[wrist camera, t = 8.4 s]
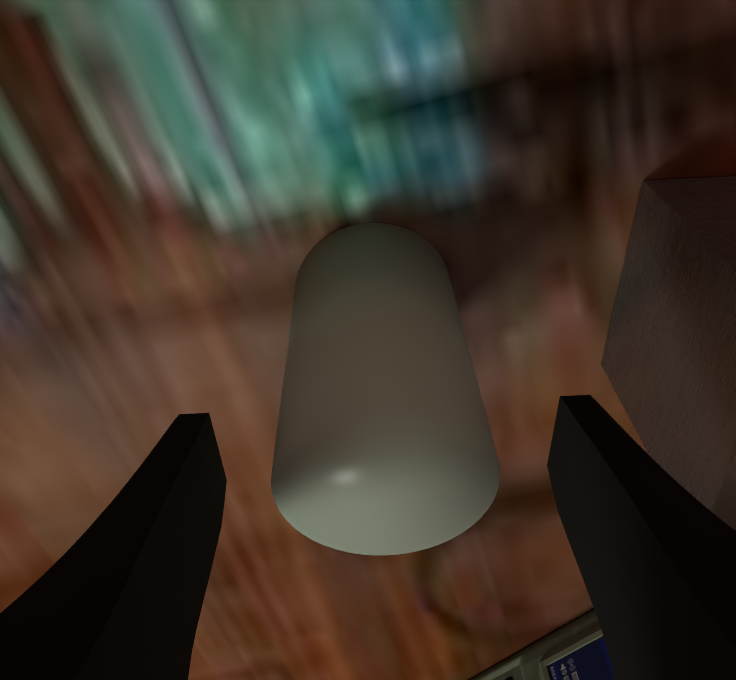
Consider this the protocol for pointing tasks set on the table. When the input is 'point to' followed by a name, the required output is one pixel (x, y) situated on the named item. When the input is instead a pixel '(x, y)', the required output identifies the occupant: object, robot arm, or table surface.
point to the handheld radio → (560, 656)
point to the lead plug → (380, 400)
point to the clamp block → (680, 330)
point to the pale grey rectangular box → (727, 499)
